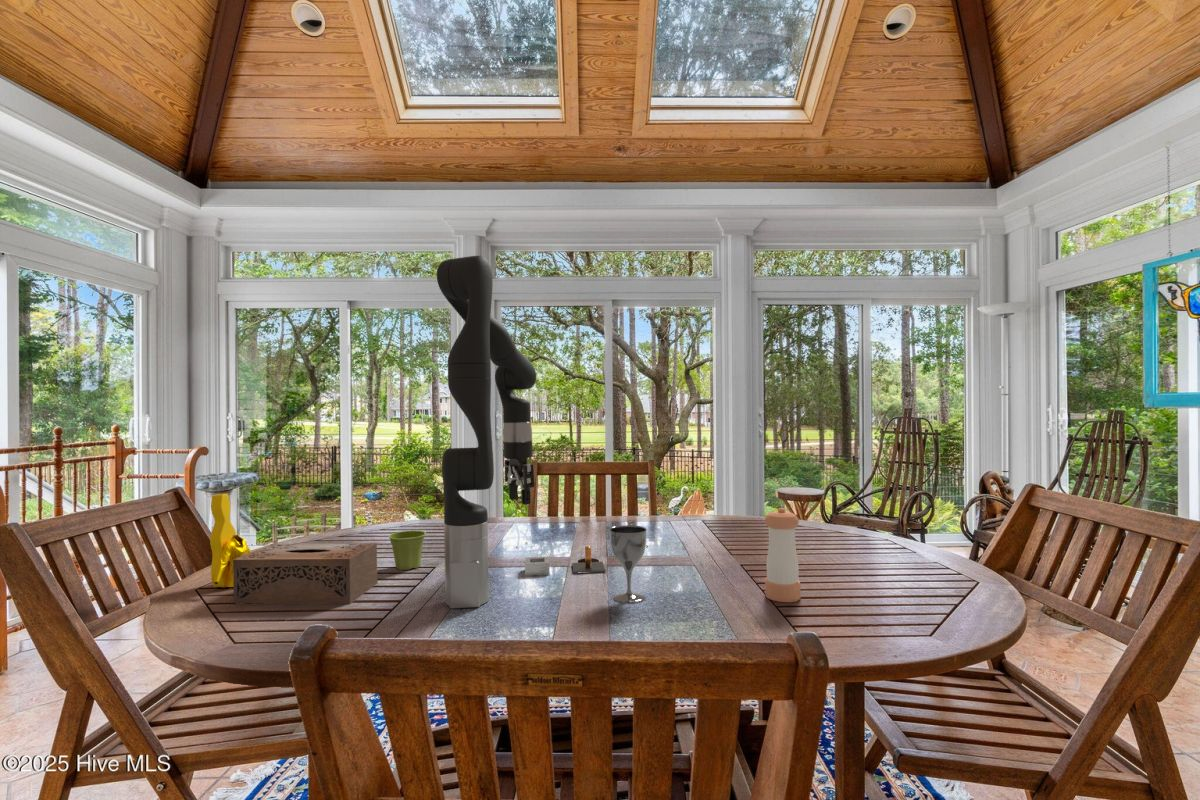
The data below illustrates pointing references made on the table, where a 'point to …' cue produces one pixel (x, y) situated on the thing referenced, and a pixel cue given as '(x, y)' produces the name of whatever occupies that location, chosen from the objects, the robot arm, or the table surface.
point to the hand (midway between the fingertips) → (519, 501)
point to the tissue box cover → (305, 573)
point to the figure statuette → (224, 543)
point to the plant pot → (407, 548)
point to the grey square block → (537, 566)
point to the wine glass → (628, 556)
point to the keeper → (588, 564)
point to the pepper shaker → (782, 557)
